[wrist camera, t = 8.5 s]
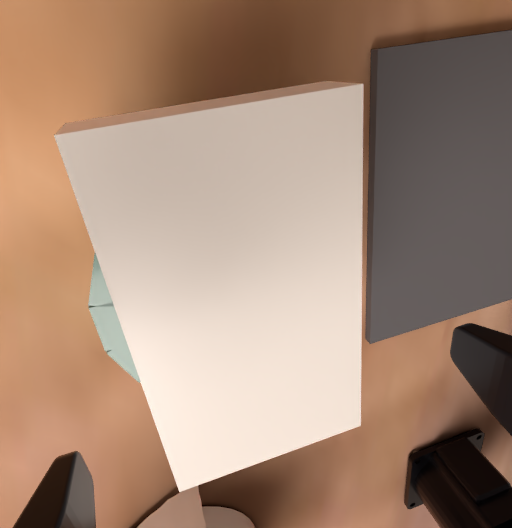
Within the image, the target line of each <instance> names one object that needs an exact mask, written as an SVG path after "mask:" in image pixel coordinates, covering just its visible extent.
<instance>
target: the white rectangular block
mask: <svg viewBox="0 0 512 528" xmlns="http://www.w3.org/2000/svg"><path fill="white" fill-rule="evenodd" d="M54 136H55V139H56V142H57V145H58V148H59V151H60V154H61V156H62V159H63V162H64V165H65V168H66V171H67V174H68V176H69V179H70V182H71V185H72V188H73V191H74V193H75V196H76V199H77V202H78V205H79V208H80V211H81V213H82V216H83V219H84V222H85V225H86V228H87V230H88V233H89V236H90V239H91V242H92V245H93V248H94V250H95V253H96V256H97V259H98V262H99V265H100V267H101V270H102V273H103V276H104V279H105V282H106V285H107V287H108V290H109V293H110V296H111V299H112V302H113V305H114V307H115V310H116V313H117V316H118V319H119V322H120V324H121V327H122V330H123V333H124V336H125V339H126V342H127V344H128V347H129V350H130V353H131V356H132V359H133V361H134V364H135V367H136V370H137V373H138V376H139V379H140V381H141V384H142V387H143V390H144V393H145V396H146V398H147V401H148V404H149V407H150V410H151V413H152V416H153V418H154V421H155V424H156V427H157V430H158V433H159V436H160V438H161V441H162V444H163V447H164V450H165V453H166V455H167V458H168V461H169V464H170V467H171V470H172V473H173V475H174V478H175V481H176V484H177V487H178V490H179V492H181V491H184V490H187V489H190V488H192V487H195V486H198V485H200V484H203V483H206V482H209V481H211V480H214V479H217V478H220V477H222V476H225V475H228V474H230V473H233V472H236V471H239V470H241V469H244V468H247V467H250V466H252V465H255V464H258V463H260V462H263V461H266V460H269V459H271V458H274V457H277V456H280V455H282V454H285V453H288V452H291V451H293V450H296V449H299V448H301V447H304V446H307V445H310V444H312V443H315V442H318V441H321V440H323V439H326V438H329V437H331V436H334V435H337V434H340V433H342V432H345V431H348V430H351V429H353V428H356V427H359V426H361V331H362V203H363V84H362V83H348V82H334V81H322V82H316V83H310V84H304V85H297V86H291V87H285V88H279V89H273V90H267V91H260V92H254V93H248V94H242V95H236V96H230V97H223V98H217V99H211V100H205V101H199V102H193V103H186V104H180V105H174V106H168V107H162V108H156V109H149V110H143V111H137V112H131V113H125V114H118V115H112V116H106V117H100V118H94V119H88V120H81V121H75V122H69V123H65V124H64V125H63V126H62V127H61V128H60V129H59V130H58V132H57V133H56V134H55V135H54Z"/></svg>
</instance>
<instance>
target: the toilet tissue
mask: <svg viewBox="0 0 512 528" xmlns="http://www.w3.org/2000/svg"><path fill="white" fill-rule="evenodd" d="M137 528H255V526H254V525H253V523H252V522H251V520H250V519H249V518H248V517H247V516H245V515H244V514H243V513H241V512H238V511H236V510H233V509H230V508H224V507H202V504H201V498H200V495H199V488H198V486H195V487H192V488H190V489H187V490H184V491H181V492H180V493H178V494H177V495H175V496H174V497H172V498H170V499H168V500H167V501H166V502H165V503H164V504H163V505H162V506H161V507H160V508H159V509H157V510H156V511H155V512H153V513H152V514H151V515H149V516H148V517H147V518H146V519H145V520H144V521H143V522H142V523H141V524H140V525H139V526H138V527H137Z"/></svg>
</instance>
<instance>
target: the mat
mask: <svg viewBox="0 0 512 528" xmlns="http://www.w3.org/2000/svg"><path fill="white" fill-rule="evenodd" d="M510 299H512V30H506V31H499V32H492V33H485V34H478V35H471V36H464V37H457V38H450V39H443V40H436V41H429V42H422V43H415V44H408V45H401V46H394V47H386V48H379V49H372V50H371V80H370V132H369V184H368V236H367V288H366V340H367V341H368V342H369V343H370V344H371V343H375V342H378V341H381V340H384V339H387V338H390V337H393V336H397V335H400V334H403V333H406V332H409V331H412V330H416V329H419V328H422V327H425V326H428V325H431V324H435V323H438V322H441V321H444V320H447V319H450V318H454V317H457V316H460V315H463V314H466V313H469V312H473V311H476V310H479V309H482V308H485V307H488V306H491V305H495V304H498V303H501V302H504V301H507V300H510Z"/></svg>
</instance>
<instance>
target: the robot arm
mask: <svg viewBox="0 0 512 528" xmlns="http://www.w3.org/2000/svg"><path fill="white" fill-rule="evenodd" d="M450 355H451V358H452V360H453V362H454V364H455V365H456V366H457V368H458V369H459V370H460V372H461V373H462V374H463V376H464V377H465V378H466V380H467V381H468V382H469V384H470V385H471V386H472V388H473V389H474V391H475V392H476V393H477V395H478V396H479V397H480V399H481V400H482V401H483V403H484V404H485V405H486V407H487V408H488V409H489V410H490V412H491V413H492V414H493V415H494V416H495V418H496V419H497V420H498V421H499V422H500V423H501V425H502V426H503V427H504V428H505V429H506V430H507V431H508V432H509V433H510V435H511V436H512V336H511V335H508V334H505V333H502V332H498V331H495V330H492V329H489V328H486V327H482V326H479V325H476V324H472V323H468V324H465V325H461V326H458V327H456V328H455V329H454V331H453V337H452V343H451V350H450ZM483 439H484V433H483V432H482V431H481V430H480V429H475V430H472V431H469V432H467V433H464V434H462V435H459V436H457V437H454V438H452V439H449V440H447V441H444V442H441V443H439V444H436V445H434V446H431V447H429V448H426V449H424V450H421V451H418V452H416V453H414V454H412V455H411V456H410V457H409V462H408V472H407V481H406V491H405V501H404V503H405V505H406V507H407V508H408V509H412V508H414V507H417V506H419V505H422V504H424V505H425V506H426V508H427V509H428V511H429V512H430V513H431V515H432V516H433V518H434V519H435V521H436V522H437V524H438V525H439V526H440V528H512V487H511V485H510V483H509V482H508V481H507V480H506V479H505V477H504V476H503V475H502V474H501V473H500V472H499V471H498V470H497V469H496V468H495V467H494V466H493V465H492V464H491V463H490V462H489V460H488V459H487V458H486V457H485V456H484V455H483V454H482V453H481V448H482V444H483ZM13 528H96V520H95V502H94V485H93V479H92V476H91V474H90V472H89V470H88V468H87V466H86V464H85V462H84V460H83V458H82V456H81V454H80V453H79V452H78V451H74V452H71V453H68V454H65V455H62V456H59V457H57V458H56V459H55V460H54V462H53V463H52V465H51V466H50V468H49V470H48V471H47V473H46V474H45V476H44V478H43V479H42V481H41V483H40V484H39V486H38V487H37V489H36V491H35V492H34V494H33V496H32V497H31V499H30V500H29V502H28V504H27V505H26V507H25V509H24V510H23V512H22V513H21V515H20V517H19V518H18V520H17V522H16V523H15V525H14V526H13Z"/></svg>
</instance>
